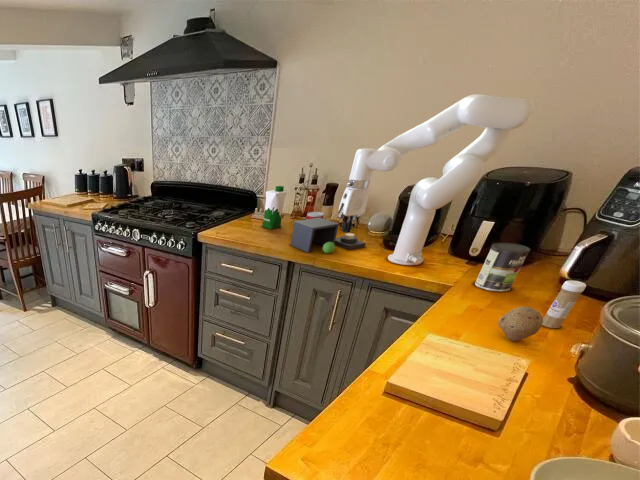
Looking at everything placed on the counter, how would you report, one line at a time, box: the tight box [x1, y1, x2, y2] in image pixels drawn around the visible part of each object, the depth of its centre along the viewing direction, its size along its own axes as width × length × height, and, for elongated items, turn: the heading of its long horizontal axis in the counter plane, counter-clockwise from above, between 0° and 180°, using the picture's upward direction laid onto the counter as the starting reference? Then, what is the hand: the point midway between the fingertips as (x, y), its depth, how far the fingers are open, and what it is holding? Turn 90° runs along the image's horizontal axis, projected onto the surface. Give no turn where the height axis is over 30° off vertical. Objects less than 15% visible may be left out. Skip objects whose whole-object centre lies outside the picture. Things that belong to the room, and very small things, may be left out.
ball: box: [322, 242, 336, 254], centre depth 184 cm, size 5×5×5 cm
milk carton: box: [261, 185, 288, 230], centre depth 219 cm, size 9×9×20 cm
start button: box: [344, 232, 356, 239], centre depth 191 cm, size 4×4×2 cm
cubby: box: [289, 218, 340, 253], centre depth 191 cm, size 13×14×11 cm
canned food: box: [305, 211, 325, 220], centre depth 204 cm, size 8×8×11 cm
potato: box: [497, 306, 544, 342], centre depth 115 cm, size 9×9×10 cm
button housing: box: [334, 235, 366, 251], centre depth 192 cm, size 12×9×4 cm
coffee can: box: [474, 242, 531, 293], centre depth 144 cm, size 10×10×14 cm
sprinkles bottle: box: [542, 279, 587, 329], centre depth 119 cm, size 5×5×13 cm
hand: (345, 231), depth 173 cm, fingers closed
